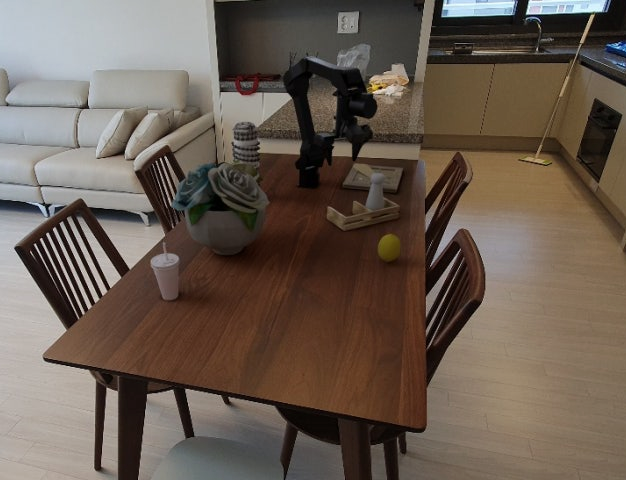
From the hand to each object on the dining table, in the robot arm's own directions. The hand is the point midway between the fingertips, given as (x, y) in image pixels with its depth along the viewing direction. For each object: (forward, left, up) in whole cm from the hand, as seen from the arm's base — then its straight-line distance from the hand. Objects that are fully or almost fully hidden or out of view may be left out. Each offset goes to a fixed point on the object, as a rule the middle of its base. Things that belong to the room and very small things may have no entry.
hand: (341, 163), depth 149 cm
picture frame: (+7, +22, -12) cm, 26 cm away
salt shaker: (+14, -9, -12) cm, 21 cm away
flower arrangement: (-19, -46, -12) cm, 51 cm away
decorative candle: (-29, -11, -12) cm, 33 cm away
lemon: (+23, -38, -12) cm, 46 cm away
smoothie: (-21, -72, -12) cm, 76 cm away
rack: (+11, -13, -12) cm, 21 cm away
